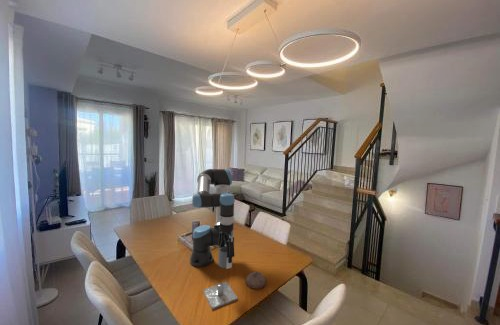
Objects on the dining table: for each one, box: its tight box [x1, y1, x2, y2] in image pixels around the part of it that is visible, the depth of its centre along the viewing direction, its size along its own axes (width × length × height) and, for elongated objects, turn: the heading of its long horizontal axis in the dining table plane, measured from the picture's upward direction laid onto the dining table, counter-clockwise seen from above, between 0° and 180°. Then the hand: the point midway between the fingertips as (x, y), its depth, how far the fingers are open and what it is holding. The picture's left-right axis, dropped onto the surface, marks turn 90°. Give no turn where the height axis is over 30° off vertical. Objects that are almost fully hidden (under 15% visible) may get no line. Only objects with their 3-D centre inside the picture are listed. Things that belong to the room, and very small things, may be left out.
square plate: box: [202, 281, 239, 310], centre depth 109 cm, size 14×14×6 cm
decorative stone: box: [245, 271, 267, 290], centre depth 120 cm, size 12×12×6 cm
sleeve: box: [217, 245, 228, 269], centre depth 111 cm, size 8×8×8 cm
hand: (225, 263), depth 111 cm, fingers closed on sleeve, 8 cm apart
